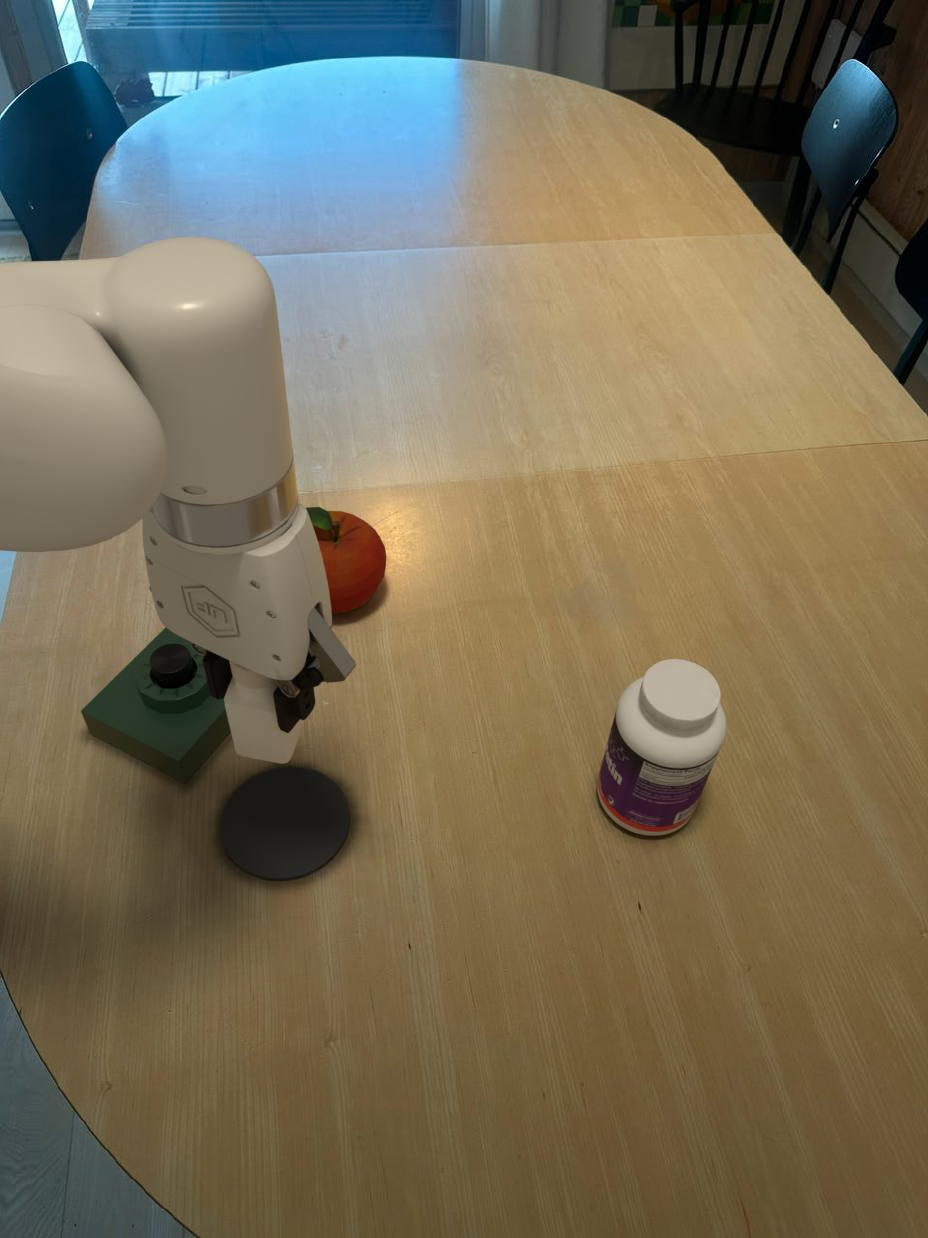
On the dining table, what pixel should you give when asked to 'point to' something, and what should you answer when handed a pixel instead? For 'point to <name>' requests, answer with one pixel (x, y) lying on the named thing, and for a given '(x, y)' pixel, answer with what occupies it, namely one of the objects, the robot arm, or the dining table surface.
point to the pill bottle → (662, 748)
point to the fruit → (348, 557)
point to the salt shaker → (257, 718)
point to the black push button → (172, 665)
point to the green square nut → (160, 715)
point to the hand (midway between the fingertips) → (263, 698)
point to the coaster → (285, 823)
